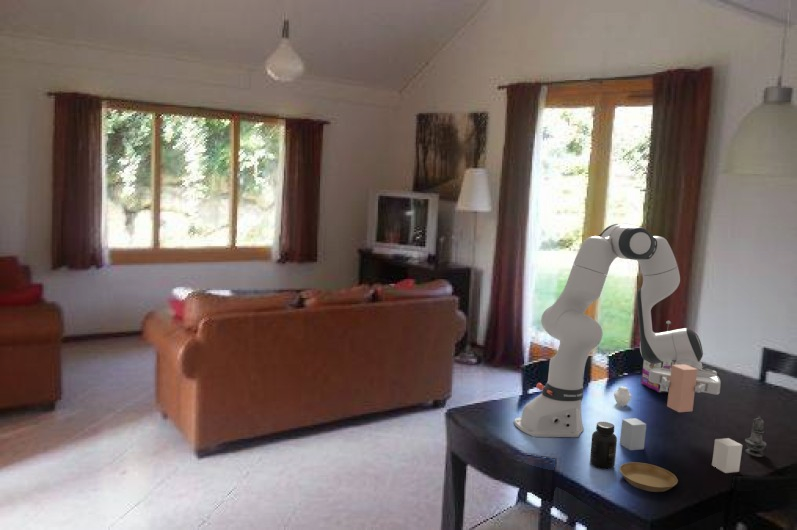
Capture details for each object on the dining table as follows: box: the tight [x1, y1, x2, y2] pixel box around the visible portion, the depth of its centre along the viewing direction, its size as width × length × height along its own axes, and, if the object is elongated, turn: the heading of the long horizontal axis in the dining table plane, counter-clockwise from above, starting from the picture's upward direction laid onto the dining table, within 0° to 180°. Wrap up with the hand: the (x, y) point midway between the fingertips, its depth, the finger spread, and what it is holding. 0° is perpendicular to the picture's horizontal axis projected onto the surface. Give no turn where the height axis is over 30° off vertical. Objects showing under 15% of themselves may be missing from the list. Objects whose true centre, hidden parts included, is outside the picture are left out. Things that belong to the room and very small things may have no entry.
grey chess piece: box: [744, 415, 767, 458], centre depth 197 cm, size 6×6×12 cm
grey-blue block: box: [619, 417, 647, 451], centre depth 197 cm, size 5×5×8 cm
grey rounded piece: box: [613, 386, 632, 407], centre depth 235 cm, size 6×6×7 cm
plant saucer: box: [619, 462, 679, 493], centre depth 174 cm, size 15×15×3 cm
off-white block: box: [711, 437, 743, 474], centre depth 185 cm, size 5×5×8 cm
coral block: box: [666, 364, 697, 413], centre depth 192 cm, size 5×5×13 cm
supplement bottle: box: [589, 421, 618, 470], centre depth 183 cm, size 7×7×12 cm
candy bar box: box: [640, 359, 672, 393], centre depth 257 cm, size 11×5×16 cm, turn 17°
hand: (682, 387), depth 191 cm, fingers closed on coral block, 7 cm apart
